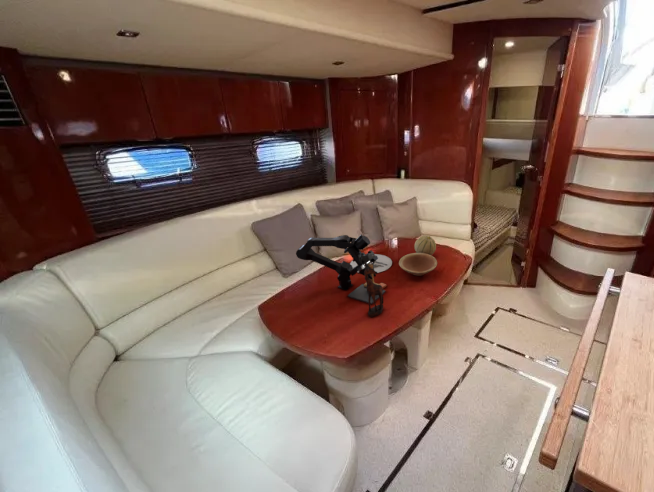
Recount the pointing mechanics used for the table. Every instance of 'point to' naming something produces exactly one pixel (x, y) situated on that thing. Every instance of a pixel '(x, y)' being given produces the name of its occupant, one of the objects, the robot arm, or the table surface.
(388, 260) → the plate
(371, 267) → the tan wooden tall post
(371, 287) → the statue
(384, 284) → the block
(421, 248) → the cantaloupe
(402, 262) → the bowl
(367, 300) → the board
